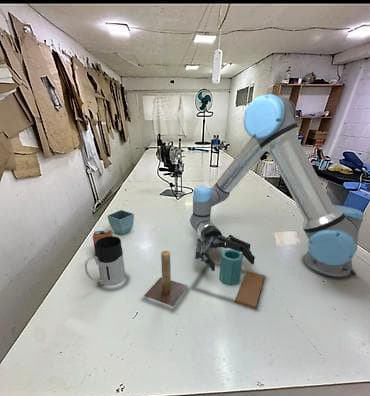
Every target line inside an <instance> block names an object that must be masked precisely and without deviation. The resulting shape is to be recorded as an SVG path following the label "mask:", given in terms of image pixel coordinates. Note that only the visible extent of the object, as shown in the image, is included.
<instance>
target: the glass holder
mask: <svg viewBox="0 0 370 396" xmlns="http://www.w3.org/2000/svg"><path fill="white" fill-rule="evenodd" d="M96 250H97V256H93V255H92V256H89V257H88V258H87V259H86V260H85V262H84V272H85V274H86V276H87V277H88V278H89V279H90V280H91V281H94V282H99V285H100V286H102V285H105V286H116V285H119V284H121V283H123V282H124V281H125V279H126V269H125V260H124V259H125V258H124V251H123V246H122V239H121V238H120V237H118V236H114V235H113V236H109V237H104V238H101V239H99V240H98V241H97V242H96ZM92 259H94V261H95V264H96V265H97V266H98V270H99V278H100V279H95V278H93V277H92V276H91V275H90V273H89V271H88V264H89V262H90V260H92Z"/></svg>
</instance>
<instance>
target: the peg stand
mask: <svg viewBox="0 0 370 396" xmlns="http://www.w3.org/2000/svg"><path fill="white" fill-rule="evenodd" d="M160 259H161V260H160V261H161V262H160V263H161V265H160V266H161V277H160V278H159V279H158V280H157V281H156V282H155V283H154V284H153V285H152V287H150V288H149V289H148V291H147V292H145V294H144V295H143V296H144V297H146V298H148V299H151V300H154V301H157V302H160V303H162V304H165V305H167V306H171V307H172V308H173V307H174V306H175V305H176V304H177V303H178V302H179V299H180V298H181V297H182V295H183V294H184V292H186V290H187V288H188V287H189V285H188V284H183V283H181V282H177V281H174V280H171V279H172V277H171V275H172V272H171V269H172V268H171V252H170V251H169V250H163V251H162V252H161V253H160Z"/></svg>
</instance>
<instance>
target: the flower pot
mask: <svg viewBox="0 0 370 396" xmlns="http://www.w3.org/2000/svg"><path fill="white" fill-rule="evenodd" d="M106 217H107V220H108V224H109V226H110V228H111V229H112V231H113V232H115V234H118V235H122V236H123V235H125V234H127V233H129V232H130V231H131V230H132V229H133V227H134V222H135V221H134V220H135V213H134V212H133V213H132V212H129V211H126V210H123V209H120V210H117V211H115V212H113V213H110V214H108V215H107V216H106Z"/></svg>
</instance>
